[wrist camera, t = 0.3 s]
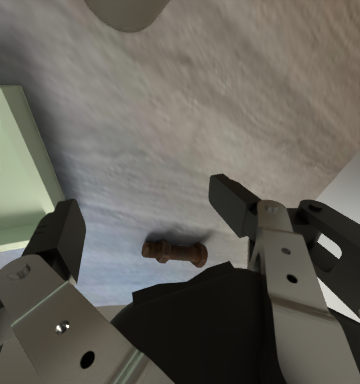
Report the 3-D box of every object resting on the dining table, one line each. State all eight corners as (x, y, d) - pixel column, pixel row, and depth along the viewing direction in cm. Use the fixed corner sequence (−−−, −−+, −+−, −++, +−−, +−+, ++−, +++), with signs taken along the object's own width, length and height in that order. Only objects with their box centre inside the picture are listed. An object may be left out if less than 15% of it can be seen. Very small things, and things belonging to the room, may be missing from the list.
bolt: (143, 233, 40) (197, 241, 47) (137, 255, 40) (193, 260, 46) (150, 241, 35) (210, 249, 41) (144, 267, 34) (205, 270, 41)
